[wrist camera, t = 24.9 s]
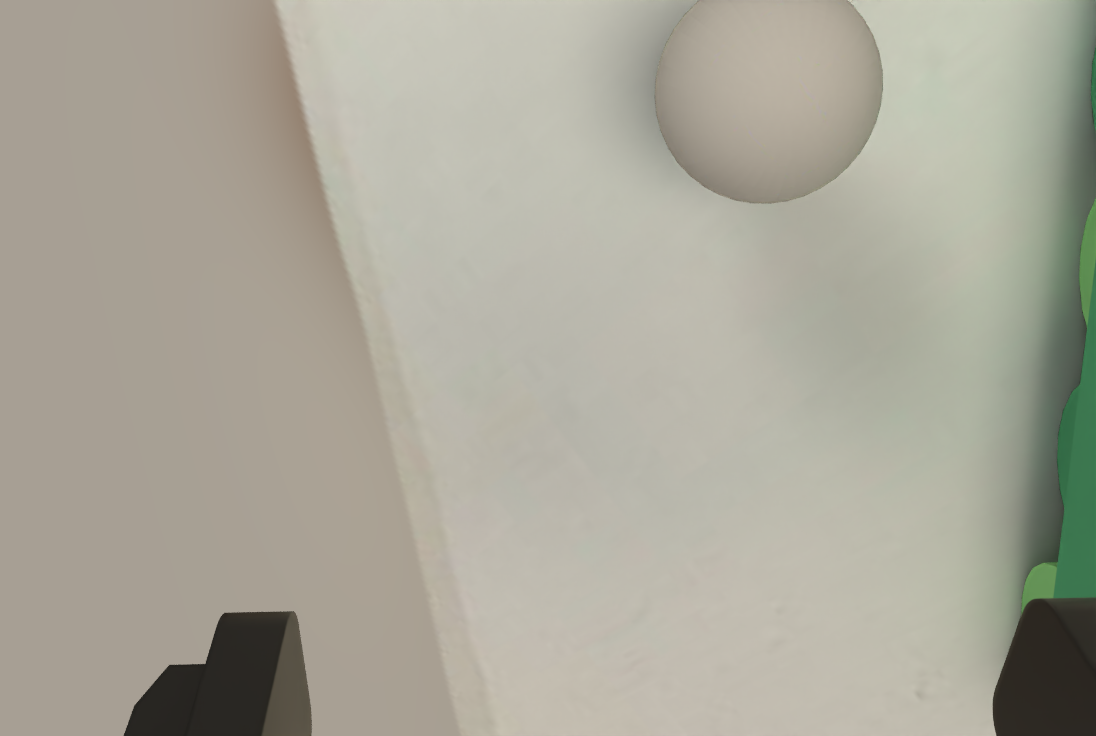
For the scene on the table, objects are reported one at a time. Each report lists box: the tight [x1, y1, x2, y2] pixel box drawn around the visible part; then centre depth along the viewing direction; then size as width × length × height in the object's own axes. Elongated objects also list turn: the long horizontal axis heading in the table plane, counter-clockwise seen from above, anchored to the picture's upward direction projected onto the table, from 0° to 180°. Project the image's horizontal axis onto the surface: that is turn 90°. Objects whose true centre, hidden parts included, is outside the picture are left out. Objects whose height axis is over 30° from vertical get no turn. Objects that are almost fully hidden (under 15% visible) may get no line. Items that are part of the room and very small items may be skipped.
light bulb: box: [655, 0, 883, 203], centre depth 30 cm, size 6×6×10 cm
